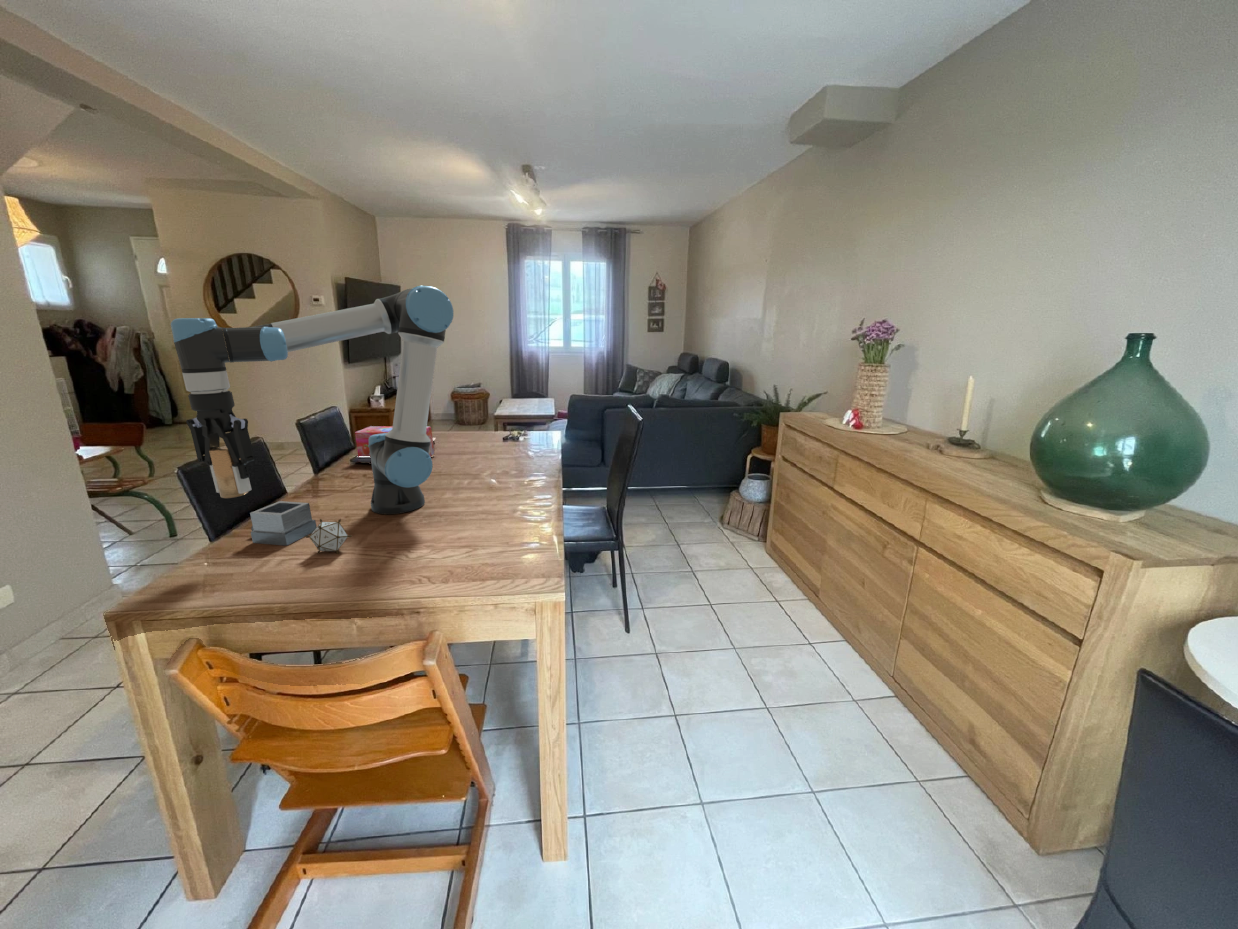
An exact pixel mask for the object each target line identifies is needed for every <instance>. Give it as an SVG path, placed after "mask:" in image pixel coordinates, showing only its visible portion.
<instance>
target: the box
mask: <svg viewBox="0 0 1238 929" xmlns="http://www.w3.org/2000/svg"><path fill="white" fill-rule="evenodd" d="M392 428H393V425H391V426H384V425H383V426H382V425H381V426H378V425H377V426H374V425H373V426H372V425H370V426H367V427H364V428H363V429H360V430H357V431H355V432H354V435H355V436H354V437H355V443H356V450H357V451H356V452H357V457H359V456H370V450H369V447H368V445H369V440H368V439H369V437H370V436H371V435H375V434H382V433H388V432H389V431H391V430H392ZM426 435H427V436H428V437H429V438H430V440H431V442H430V450H429V455H430V457H431V456H432V455H433V454H434V455H435V448H434V446H435V445H434V439H433V431H432V426H428V425H427V428H426Z"/></svg>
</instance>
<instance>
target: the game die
mask: <svg viewBox="0 0 1238 929" xmlns="http://www.w3.org/2000/svg"><path fill="white" fill-rule="evenodd" d="M341 521H342V519H341V518H340V519H338V521H323V519H322V518H319V524H318V525H316V526H317V528H316V529H315V530H314V531H313V532H312V533H311V534H309V535H307V536H305V537H304V538H306V539H307V538H309V539H310V541H311V542H312V543H313V545H314V546H315V548H316V549H317V550H318V551H317V552H316V554H317V555H318V554H320V553H321V552H335V553H336V554H337V555H339V554H340V552H339V550H340V548H341V547H342V546H343V544H344V543H345V542H346V540H348V538H351V537H353V535H351V534H349V535H348V533H347V531H346V530H345V528H344V527H343V525H341Z"/></svg>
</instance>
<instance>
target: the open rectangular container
mask: <svg viewBox="0 0 1238 929" xmlns="http://www.w3.org/2000/svg"><path fill="white" fill-rule="evenodd" d="M311 511H312V510H311V506H310V502H299V501H286V500H285V501H283V500H278V501H277V502H275V503H271V504H268V505H266V506H264V507H261V508H259V509H257V510H255V511H251V512H249V514H250V519H251V524H252V526H251V529H250V530H251V531H250V536H251V539H252V541H251V542H252V543H253V544H261V545H262V544H263V545H275V546H276V545H277V546H289V545H291V544H293V543H295V542H297V541H299V540H302V539H304V538H306V537H305V536H310V535H311V534H312V532H313V531H314V530H315V529H316V528H317V526H318V525H317V522H316V519H313V517H312V513H311Z"/></svg>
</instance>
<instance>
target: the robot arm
mask: <svg viewBox="0 0 1238 929" xmlns="http://www.w3.org/2000/svg"><path fill="white" fill-rule="evenodd" d="M453 319H454V308H453V304H452V302H451V300H450V299H449V297H448V296H447V295H446V293H445V292H444V291H442V290H441V289H439V288H437V287H434V286H430V285H429V286H428V285H418V286H415V287H413V288H407V289H404V290H402V291H399V292H396V293H395V294H391V295H388V296H385V297H382V298H376V299H375V301H374V302H373V303H370V304H364V305H360V306H355V307H354V306H353V307H349V308H348V307H347V308H344V309H339V310H334V311H328V312H323V313H317V314H313V315H306V316H302V317H296V318H292V319H291V318H290V319H287V320H282V321H281V320H280V321H276V322H271V323H266V324H260V325H255V326H249V327H248V326H247V327H220V326H219V327H218V324H217V323H216V321H215V319H213V318H209V317H208V318H207V317H206V318H205V317H203V318H201V317H200V318H199V317H197V318H196V317H192V318H191V317H190V318H189V317H186V318H185V317H184V318H183V317H180V318H174V319H173V320H172V321H170V328H171V333H172V338H173V343H174V344H173V345H174V347H175V350H176V354H177V358H178V359H177V360H178V363H179V365H180V369H181V372H182V373H181V374H182V377H183V382H184V386H185V387H184V388H185V391H186V392H189V395H187V396H188V400H189V405H190V407H191V410H192V411H195V412H196V417H194V418H190V419H186V424H187V426H188V429H189V430H190V434H191V438H192V441H193V442H192V443H193V446H194V450H195V454H196V457H197V458H196V459H197V461H198V462H199V463H205V465H207V466H208V471H209V473H210V477H211V478H212V480H213V483H214V488H215V493H218V494H220V493H219V489H218V485H217V481H216V477H215V473H214V469H213V465H212V461H211V457H210V453H209V450H210V449H214V448H218V447H221V446H220V438H221V439H222V440H223V442H224V444H225V445H224V446H226V447H227V449H228V451H229V453H230V455H231V457H232V459H233V461H234V463H235V464H234V465H232V468H233V473H234V477H235V481H236V485H237V489H238V493H239V494H242V493H245V492H247V491H248V492H250V491H252V485H251V482H250V478H251V473H250V469H249V465H248V464H249V463H251V462H254V461H255V460H256V458H255V453H254V450H253V446H252V441H251V438H250V434H249V433H250V432H249V429H248V427H249V420H248V418H239V417H237V416H236V414H235V413H234V411H233V408H234V407H235V406H236V405H235V400H234V396H233V392H232V391H231V390H229V389H230V388H231V384H230V380H229V375H228V371H227V367H226V363H243V362H244V363H248V362H249V363H250V362H251V363H252V362H253V363H254V362H256V363H257V362H271V363H272V362H275V361H285V360H286V359H287V358H289V356H288V355H289V352H295V351H299V350H304V349H309V348H313V347H317V346H323V345H327V344H332V343H336V342H340V341H341V342H342V341H345V340H350V339H354V338H359V337H364V336H368V335H372V334H373V335H374V334H376V333H378V334H379V333H382V332H384V333H386V334H387V335H391V334H395V333H397V334H398V335H399V337H400V338H401V339H402V341H403V343H402V349H401V358H400V367H399V373H398V374H399V375H398V381H397V389H396V390H397V391H396V399H395V404H394V405H395V406H394V411H393V412H394V413H393V421H392V422H393V423H392V426H393V428H392V430H391V431H389V432H388V433H382V434H375V435H371V436H370V437H369V439H368V440H369V445H368V447H369V450H370V457H371V463H370V464H371V469H372V476H373V483H374V485H373V489H372V494H371V500H370V508H371V511H372V513H373V512H374V514H379V515H396V514H397V515H398V514H403V513H408V512H412V511H414V510H417V509H419V508H421V507H423V506H424V505H425V504H426V502H425V495H424V493H423V490H422V489H421V487H420V485H422V484H423V483H425V482H426V481H427V480H428V478H429V477H430V476H431V474H432V470H433V460H432V458H431V457H430V455H429V450H430V442H431V440H430V438H429V437H428V436H427V435H426V428H427V426H428V419H429V412H430V405H431V398H432V397H431V396H432V392H433V391H432V390H433V383H434V376H435V375H434V374H435V368H436V361H437V354H438V353H437V352H438V348H439V347H440V346H442V345H443V344H445V337H446V330H448V328H449V327H450V325H451V324H452V322H453Z"/></svg>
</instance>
